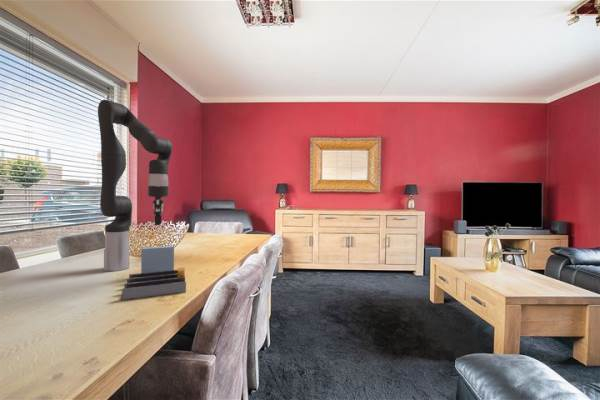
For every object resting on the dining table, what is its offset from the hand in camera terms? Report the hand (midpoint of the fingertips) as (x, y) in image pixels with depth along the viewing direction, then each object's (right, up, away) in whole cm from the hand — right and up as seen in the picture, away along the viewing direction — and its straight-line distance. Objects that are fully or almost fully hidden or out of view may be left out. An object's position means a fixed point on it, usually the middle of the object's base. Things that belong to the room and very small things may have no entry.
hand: (158, 223), depth 114 cm
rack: (+7, -22, -14) cm, 27 cm away
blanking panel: (0, -22, 0) cm, 22 cm away
